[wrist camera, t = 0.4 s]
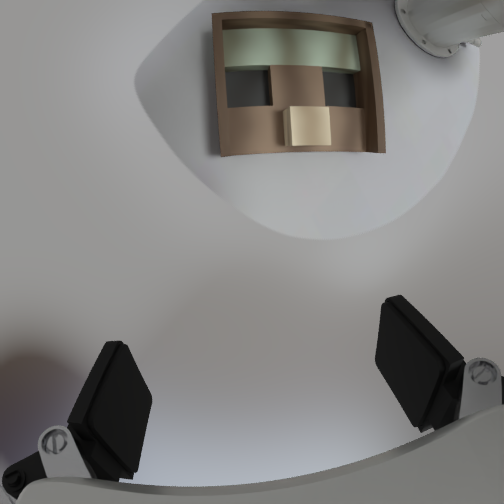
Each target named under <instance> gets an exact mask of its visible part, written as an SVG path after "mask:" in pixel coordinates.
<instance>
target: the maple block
mask: <svg viewBox="0 0 504 504" xmlns="http://www.w3.org/2000/svg"><path fill="white" fill-rule="evenodd" d="M283 123H284V138H285V146H307V145H331V132H330V116H329V107H313V106H290V107H288V108H287V109H285V110H284V111H283Z"/></svg>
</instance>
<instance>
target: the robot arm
mask: <svg viewBox="0 0 504 504" xmlns="http://www.w3.org/2000/svg"><path fill="white" fill-rule="evenodd" d="M395 10H396V14H397V17H398V20H399V22H400V24H401V26H402V27H403V29H404V30H405V32H406V33H407V34H408V36H409V37H410V38H411V39H412V40H413V41H414V42H415V43H416V44H417V45H418V46H419V47H420V48H422V49H423V50H424V51H426V52H428V53H429V54H431V55H434V56H436V57H441V58H443V57H449V56H452V55H454V54H455V53H456V52H457V50H458V48H459V43H462V42H464V43H468V42H469V43H470V44H472V45H474V46H476V47H480V46H481V40H480V38H479V37H483V36H487V35H491V34H496V33H500V32H504V0H395ZM463 359H464V357H463V356H462V355H461V354H460V353H459V352H458V351H457V350H456V349H455V348H454V347H453V346H452V345H451V344H450V342H449V341H448V340H447V339H445V337H444V336H443V335H442V334H441V333H440V332H439V331H438V330H437V329H436V328H435V327H434V326H433V325H432V324H431V323H430V322H429V321H428V320H427V319H425V317H424V316H423V315H422V314H421V313H420V312H419V311H418V310H417V309H415V308H414V306H412V305H411V304H410V303H409V302H408V301H407V300H406V299H405V298H404V297H403V296H402V295H397V296H393V297H389V298H387V299H386V300H385V303H383V304H382V306H381V315H380V324H379V332H378V341H377V348H376V355H375V362H376V365H377V367H378V369H379V371H380V372H381V374H382V375H383V377H384V379H385V380H386V382H387V383H388V385H389V387H390V388H391V390H392V392H393V393H394V395H395V397H396V398H397V400H398V402H399V403H400V405H401V407H402V408H403V410H404V412H405V413H406V415H407V417H408V419H409V420H410V422H411V424H412V425H413V426H414V427H418V428H419V430H420V432H421V433H422V432H424V431H426V430H428V429H430V428H432V427H433V428H434V430H435V431H434V432H432V433H430V434H427V435H425V436H423V437H421V438H418V439H416V440H414V441H411V442H409V443H406V444H404V445H402V446H399V447H397V448H394V449H392V450H389V451H387V452H384V453H381V454H378V455H375V456H372V457H369V458H366V459H363V460H360V461H357V462H354V463H351V464H347V465H343V466H340V467H337V468H332V469H329V470H325V471H320V472H316V473H312V474H307V475H302V476H298V477H292V478H287V479H281V480H274V481H267V482H260V483H251V484H241V485H228V486H208V487H176V486H155V485H141V484H131V483H121V482H119V478H124V479H133V475H134V473H136V472H137V471H138V467H139V461H140V457H141V451H142V447H143V442H144V437H145V432H146V427H147V423H148V418H149V414H150V409H151V405H152V395H151V393H150V391H149V389H148V387H147V385H146V383H145V381H144V379H143V377H142V375H141V373H140V371H139V369H138V367H137V365H136V363H135V361H134V358H133V356H132V354H131V352H130V350H129V348H128V346H127V345H126V344H123V342H122V341H108V342H106V343H105V345H104V346H103V349H102V350H101V353H100V354H99V356H98V358H97V360H96V362H95V364H94V366H93V368H92V370H91V372H90V374H89V376H88V378H87V380H86V382H85V384H84V386H83V388H82V390H81V392H80V394H79V397H78V398H77V401H76V403H75V405H74V407H73V409H72V412H71V414H70V416H69V418H68V421H67V422H68V423H69V425H68V427H67V428H66V427H64V426H53V427H50V428H48V429H47V430H45V431H44V432H43V433H42V434H41V436H40V438H39V441H38V449H39V451H38V452H36V453H34V454H32V455H30V456H29V457H27V458H25V459H23V460H21V461H19V462H17V463H15V464H13V465H11V466H10V467H8V468H7V469H6V470H5V472H4V474H3V477H2V484H3V486H1V485H0V504H504V377H503V376H501V372H500V369H499V367H498V366H497V365H496V364H495V363H494V362H493V361H491V360H489V359H486V358H475V359H472V360H470V361H469V362H468V363H467V364H466V363H465V361H464V360H463Z"/></svg>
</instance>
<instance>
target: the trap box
mask: <svg viewBox="0 0 504 504" xmlns="http://www.w3.org/2000/svg"><path fill="white" fill-rule="evenodd" d="M212 28H213V48H214V65H215V82H216V97H217V112H218V126H219V139H220V152H221V157H225V156H231V155H244V154H259V153H278V152H311V151H346V152H373V153H386V146H385V123H384V108H383V96H382V86H381V77H380V69H379V61H378V55H377V48H376V42H375V36H374V31H373V26H372V23H371V22H367V21H362V20H356V19H351V18H345V17H338V16H331V15H323V14H313V13H301V12H284V11H241V12H223V13H212ZM290 106H313V107H329V116H330V132H331V145H307V146H285V138H284V123H283V111H284V110H285V109H287V108H288V107H290Z"/></svg>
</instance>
